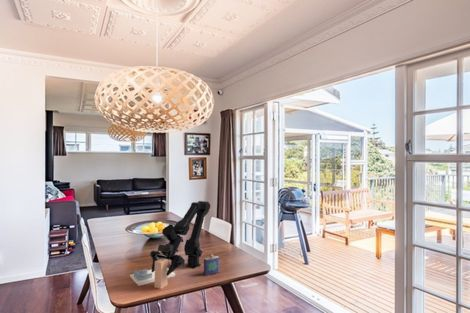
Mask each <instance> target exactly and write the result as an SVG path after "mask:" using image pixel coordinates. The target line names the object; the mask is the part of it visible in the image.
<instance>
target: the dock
mask: <svg viewBox="0 0 470 313" xmlns="http://www.w3.org/2000/svg"><path fill="white" fill-rule="evenodd" d="M129 277H130V278H131V280H133V282H134V283H136V285H137V286H143V285H146V284H150V283H153V282H154V283H155V271H154V272H152V268H151V269H149V270H148V269H147V268H145V269H142V270H137V269H134V270H133V273H132V274H129ZM173 277H176V273H175V272H174V271H173V272H172V273H170V274H169V275H168V278H167V279H169V278H173Z"/></svg>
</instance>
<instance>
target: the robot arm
mask: <svg viewBox="0 0 470 313" xmlns="http://www.w3.org/2000/svg"><path fill="white" fill-rule="evenodd" d="M210 209H211V204H210V202H209V201H204V200H198V201H195V202H191V203H190V206H189V208H188V210H187V212H185V214H184V216H183V217H182V219H181V220H179V221H177V222H176V223H175V225H174V224H172V223H171V224H170V223H169V224H168V225H167V226H165V227H164V228H162V230H161V231H162V232H161V233H162V236H164V237H165V238H166V240H167V241H168V243H166V244H159V243H158V246H157V250H155V249H154V250H151V251H150V253H149V256H151V257H150V258H151V259H152V267H151V269H152V272H154V271H155V261H157V260H159V259H161V258H163V259H168V261H170V265H169V267H168V271H167V274H166V275H167V276H168V275H169V274H170V273H172V272H174V271H175V270H176V269H178V268H179V267H181V266H186V267H189V268H191V269H196V268H197V267H200V266H202V264H201V263H200V257H201V256H202V255H203V251H202V249H201V244H200V241H199V240H200V236H201V231H202V227H203V223H204V221H205V216H207V214H209V212H210ZM195 215H196V216H195ZM194 218H195V220H194ZM193 220H194V223H193V226H192V231H191V233H190V234H191V235H190V238H188V239H186V240H185V244H184V247H183V250H184V254H185V256H187V264H186V265H184V264H185V258H184V257H183V256H182V255H179V254H176V253H178V252H179V247H180V245H181V243H184V238H183V236H186V235H187V234H188V233H189V230H190V227H191V225H190V224H191V222H192V221H193Z"/></svg>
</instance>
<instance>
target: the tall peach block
mask: <svg viewBox="0 0 470 313" xmlns="http://www.w3.org/2000/svg"><path fill="white" fill-rule="evenodd" d="M168 261H169V260H168V259H163V258H161V259H159V260H157V261H155V281H154V288H155V289H159V290H162V289H164V288H165V287H167V286H168V279H169V278H168V276H167V275H166V274H167V271H168V269H169V267H168V266H169V265H168V263H169V262H168Z"/></svg>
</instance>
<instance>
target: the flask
mask: <svg viewBox="0 0 470 313" xmlns="http://www.w3.org/2000/svg"><path fill="white" fill-rule="evenodd" d="M216 273H217V274H219V273H220V256H218V255H215V256H214V254H210V256H209V257H205V258H204V259H203V276H205V277H208V275H209V276H213V275H216Z"/></svg>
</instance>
